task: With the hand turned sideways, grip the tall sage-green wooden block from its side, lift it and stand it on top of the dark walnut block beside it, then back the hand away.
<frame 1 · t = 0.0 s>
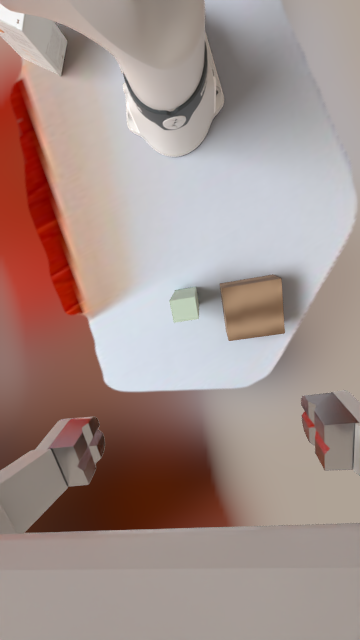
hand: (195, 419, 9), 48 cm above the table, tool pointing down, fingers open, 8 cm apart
small box: (45, 51, 45), on the table
walnut block: (248, 304, 56), on the table
sage block: (187, 297, 57), on the table
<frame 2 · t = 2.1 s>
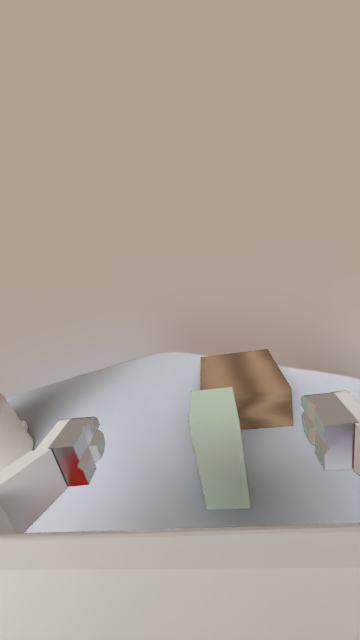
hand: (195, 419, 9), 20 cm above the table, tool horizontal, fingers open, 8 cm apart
walnut block: (242, 401, 39), on the table
sage block: (226, 485, 27), on the table
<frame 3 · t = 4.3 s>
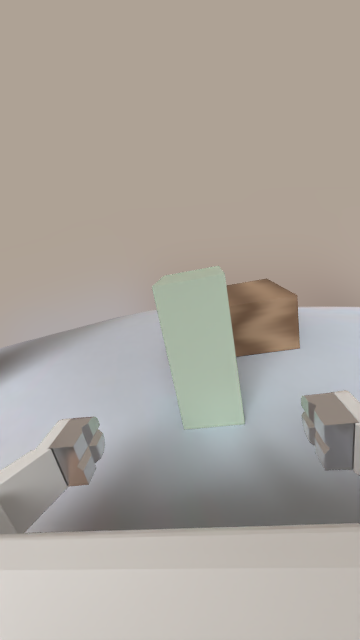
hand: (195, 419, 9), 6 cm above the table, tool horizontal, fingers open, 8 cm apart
walnut block: (236, 335, 33), on the table
sage block: (212, 405, 20), on the table
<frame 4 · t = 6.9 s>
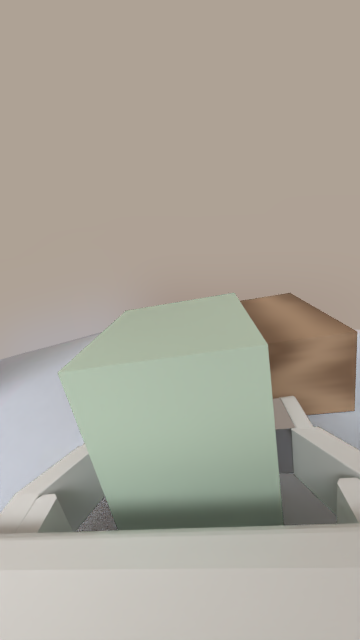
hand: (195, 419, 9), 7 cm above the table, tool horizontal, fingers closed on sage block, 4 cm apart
walnut block: (250, 375, 23), on the table
sage block: (220, 554, 10), on the table, touching gripper
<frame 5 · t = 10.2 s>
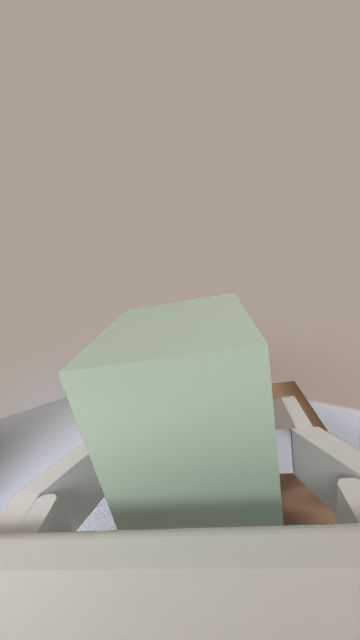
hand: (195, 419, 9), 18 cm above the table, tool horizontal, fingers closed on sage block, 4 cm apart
walnut block: (260, 463, 26), on the table
sage block: (220, 555, 10), point 11 cm above the table, touching gripper
when the fingers open (14 cm above the table, at t = 13.6 s): sage block drops 1 cm, resting on walnut block.
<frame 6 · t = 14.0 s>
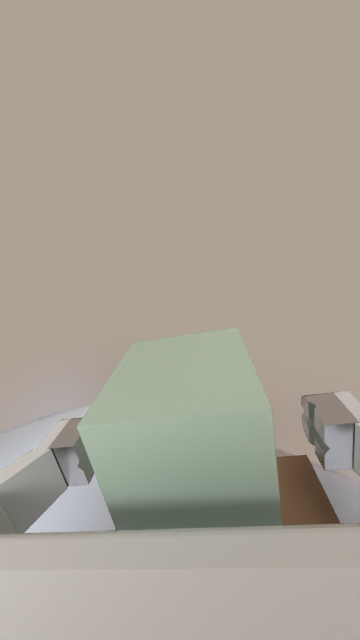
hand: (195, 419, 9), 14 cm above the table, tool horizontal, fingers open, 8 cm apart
sage block: (223, 575, 11), point 6 cm above the table, touching walnut block
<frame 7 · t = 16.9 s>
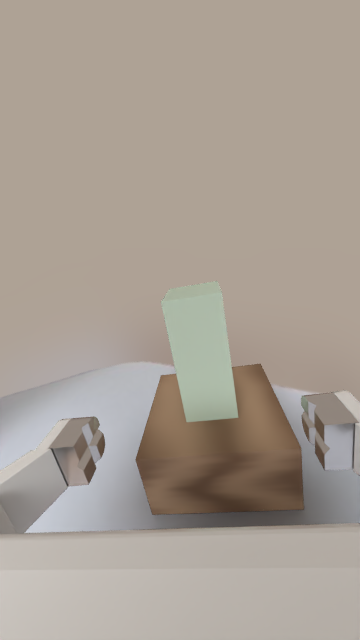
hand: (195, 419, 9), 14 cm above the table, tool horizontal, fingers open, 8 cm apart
walnut block: (219, 450, 25), on the table
sage block: (211, 401, 23), point 6 cm above the table, touching walnut block
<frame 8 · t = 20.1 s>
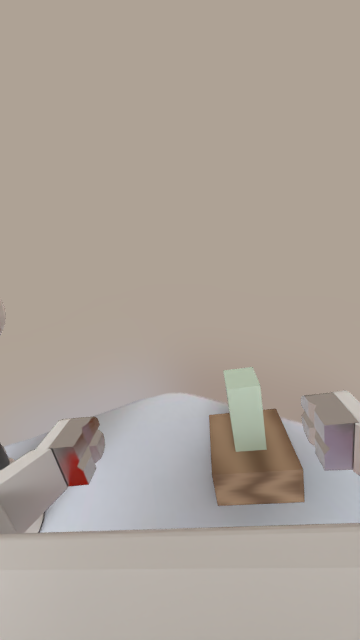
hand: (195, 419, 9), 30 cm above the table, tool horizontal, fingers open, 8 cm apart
walnut block: (251, 466, 40), on the table
sage block: (247, 437, 38), point 6 cm above the table, touching walnut block
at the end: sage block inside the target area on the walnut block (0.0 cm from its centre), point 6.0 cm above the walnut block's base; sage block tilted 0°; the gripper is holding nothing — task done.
